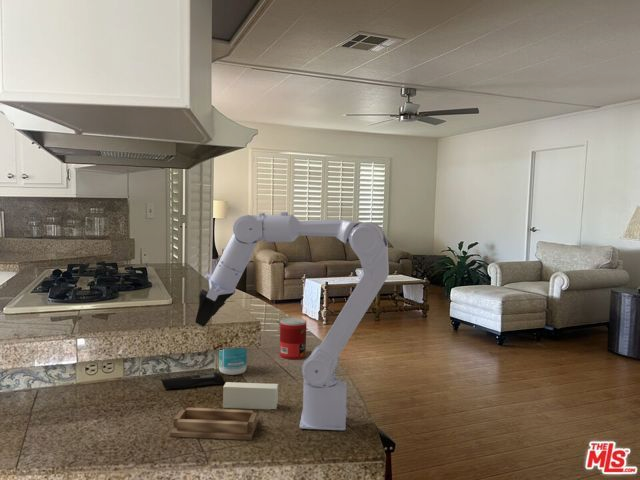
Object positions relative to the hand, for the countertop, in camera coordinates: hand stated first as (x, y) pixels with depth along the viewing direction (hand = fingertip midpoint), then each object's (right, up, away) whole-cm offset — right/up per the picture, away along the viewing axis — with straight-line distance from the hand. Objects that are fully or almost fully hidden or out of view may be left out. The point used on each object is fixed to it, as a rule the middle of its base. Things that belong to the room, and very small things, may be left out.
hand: (204, 318), depth 111 cm
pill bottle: (+1, -19, +27) cm, 33 cm away
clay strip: (+10, -21, +4) cm, 23 cm away
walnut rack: (+4, -21, -8) cm, 23 cm away
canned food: (+17, -18, +42) cm, 49 cm away
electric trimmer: (-6, -20, +15) cm, 26 cm away
